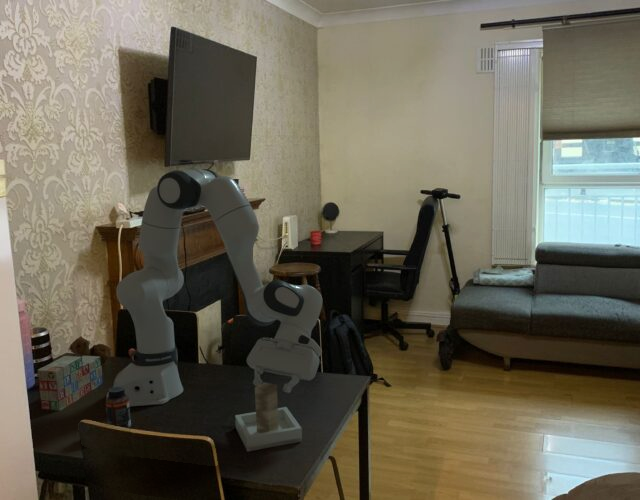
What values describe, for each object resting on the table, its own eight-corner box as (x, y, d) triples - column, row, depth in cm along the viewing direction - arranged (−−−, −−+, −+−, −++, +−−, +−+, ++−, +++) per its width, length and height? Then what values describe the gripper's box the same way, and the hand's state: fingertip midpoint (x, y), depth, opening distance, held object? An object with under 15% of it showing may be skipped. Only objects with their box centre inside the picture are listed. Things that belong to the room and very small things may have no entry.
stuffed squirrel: (63, 375, 206) (59, 337, 204) (104, 365, 215) (101, 328, 213) (73, 383, 198) (69, 344, 196) (116, 372, 207) (112, 335, 205)
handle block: (256, 432, 158) (254, 387, 156) (266, 425, 161) (264, 382, 159) (269, 435, 156) (267, 390, 154) (278, 429, 159) (276, 384, 157)
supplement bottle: (136, 427, 165) (133, 387, 163) (118, 436, 160) (114, 395, 158) (121, 422, 168) (118, 383, 166) (103, 431, 163) (99, 390, 161)
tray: (247, 451, 150) (246, 437, 149) (235, 427, 163) (235, 415, 162) (302, 441, 154) (301, 428, 154) (286, 419, 167) (286, 406, 167)
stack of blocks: (86, 382, 199) (83, 346, 197) (103, 384, 197) (100, 347, 195) (41, 409, 179) (36, 369, 177) (59, 411, 177) (55, 370, 175)
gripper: (254, 330, 169) (233, 375, 162) (318, 340, 158) (298, 390, 151) (264, 341, 173) (244, 386, 166) (327, 352, 162) (308, 400, 156)
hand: (270, 388), depth 159 cm, fingers open, 8 cm apart
